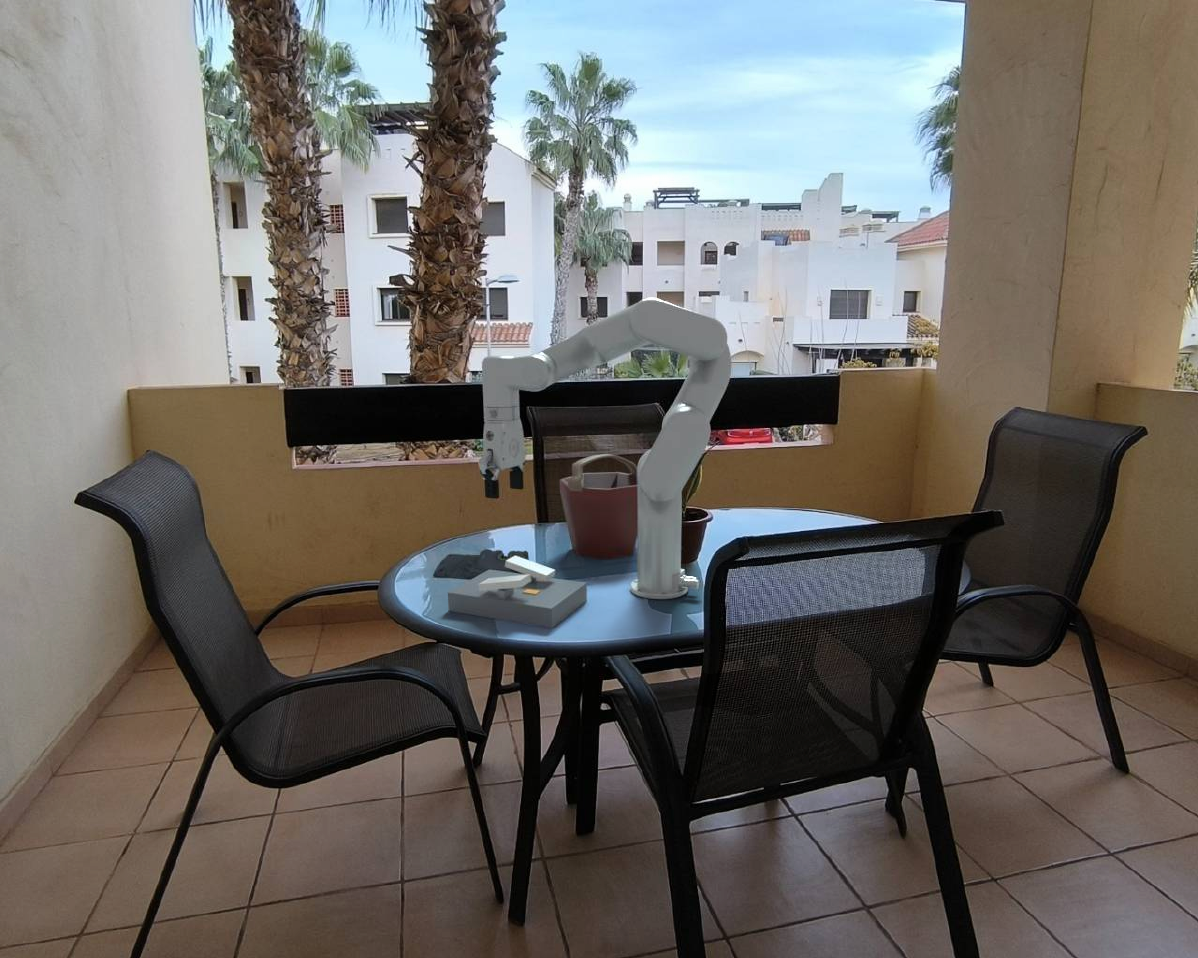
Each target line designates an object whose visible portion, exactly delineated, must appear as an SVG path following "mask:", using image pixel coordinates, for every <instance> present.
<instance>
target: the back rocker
mask: <svg viewBox="0 0 1198 958" xmlns="http://www.w3.org/2000/svg"><path fill="white" fill-rule="evenodd" d="M505 567H507V568H510V569H513V570H515V571H518V572H521V573H523V574H526V575H528V574H530V576H532V577H534V578H537V579H540V580H542V581H545V582H546V581H547V580H549V579H550V578H554V577H555V574H556V569H554V568H551V567H548V566H545V565H543V564H540V563H538V562H536V561H532V560H530V559H529V560H526V559H524V558H521V557H518V556H513V557H512V558H510V559H508V560H506V563H505Z"/></svg>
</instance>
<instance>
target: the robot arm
mask: <svg viewBox="0 0 1198 958" xmlns="http://www.w3.org/2000/svg"><path fill="white" fill-rule="evenodd" d="M648 344H653V345H655V346H658V347H660V348H664V349H666V350H669V351H672V352H676V353H678V354H682V355H685V356H686V357H690V367H689V371H688V374H687V376H686V378H685V380H684V382H683V384H682V386H681V388H680V389H679V392H678V393H677V395H676V397H675V398H674V401H673V403H672V404H671V406H670V408H669V410H667V412H666V414H665V415H664V417H663V419H662V423H661V430H660V432H659V434H658V435H657V438H656V439H655V441H654V443H653V445H652V447H651V448H650V449H648V450H646V451H645V452H644V453H643V454H642V455H641V457H640V458H639V460H638V463H637V465H636V466H637V506H638V512H637V514H638V521H637V541H636V547H637V550H636V551H637V552H636V553H637V556H636V557H637V561H636V562H637V570H636V571H637V578H636V579H634V580H632V581H631V582H630V586H629V587H630V588H629V589H630V591H631V593H632V594H634V595H636V596H638V597H641V598H645V599H651V600H670V599H676V598H680V597H682V596H684V595H686V594H687V592H688V591H689V589H695V590H698V589H699V586H700V580H699V579H698V578H697V577H695V576H687V574H685V572H686V571H685V569H684V568H682V566H681V565H682V563H681V562H682V518H683V517H682V513H683V511H682V509H683V508H682V505H683V503H682V491H683V489H684V487H685V486H686V484H687V482H689V479H690V477H691V475H692V473H693V471H694V470H695V468H696V467H697V465H698V463H699V461H700V459H701V458H702V456H703V453H704V452H705V451H706V449H707V446H708V444H709V441H710V437H711V432H712V431H711V424H710V422H711V420H712V418H713V416H714V414H715V412H716V410H717V408H718V407H719V404H720V402H721V400H722V399H723V396H724V394H725V392H726V391H727V387H728V385H729V382H730V379H731V374H732V365H733V364H732V355H731V350H730V347H729V345H728V333H727V329H726V327H725V326H724V324H723V323H722V322H721V321H719V320H718V319H716V318H715V317H712V316H708V315H706V314H702V313H700V312H697V311H694V310H690V309H688V308H685V307H682V306H678V305H675V304H673V303H670V302H668V301H664V300H662V299H660V298H656V297H646V298H643V299H641V300H639V301H638V302H636V303H634V304H632V305H630V306H628V307H625V308H623V309H622V310H619V311H616V312H614V313H613V314H610V315H609V316H606V317H604V318H602V319H600V320H597V321H595V322H593V323H591V324H589V325H587V326H585V327H584V328H582V329H581V330H579V331H577V332H576V333H575V334H573V335H572V336H570V337H568V338H566V339H564V340H562V341H560V342H558V343H556V344H553V345H552V346H549V347H547V348H545V349H543V350H540V351H539V352H536V353H534V354H530V355H525V356H524V355H523V356H516V357H515V356H513V355H487V356H484V358H483V359H482V361H481V373H482V374H481V375H482V376H481V377H482V394H483V395H482V397H483V419H484V420H483V422H484V424H483V434H482V435H483V437H482V439H483V440H482V456H481V458H480V459H479V460H478V462H477V464H478V467H479V469H480V474H481V475H482V480H484V481H483V482H484V497H485V498H487V499H496V500H497V499H500V486H499V485H500V484H499V479H497V478H498V475H499V472H500V470H501V471H506V470H509V469H510V470H509V486H510V489H511V490H524V485H525V484H524V471H525V463H526V457H527V449H526V448H525V445H526V444H525V438H524V436H525V435H524V429H523V423H522V420H521V417H520V416H521V415H520V393H519V392H520V391H526V392H528V391H529V392H540V391H543V390H545V389H546V388H547V387H550V386H551V385H554V384H556V383H557V382H559V381H561V380H564V379H566V378H568V377H571V376H572V375H574V374H577V373H579V372H582V371H585V370H586V369H589V368H594V367H599V366H602V365H605V364H607V363H610V362H611V361H613V360H615V359H618V358H620V357H622V356H624V355H627V354H628V353H631V352H633V351H635V350H638V349H640V348H642V347H644V346H646V345H648Z"/></svg>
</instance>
